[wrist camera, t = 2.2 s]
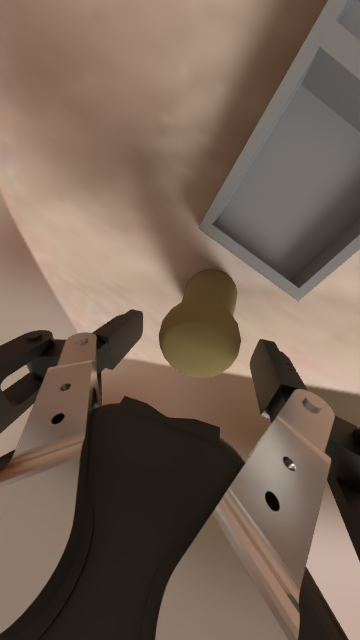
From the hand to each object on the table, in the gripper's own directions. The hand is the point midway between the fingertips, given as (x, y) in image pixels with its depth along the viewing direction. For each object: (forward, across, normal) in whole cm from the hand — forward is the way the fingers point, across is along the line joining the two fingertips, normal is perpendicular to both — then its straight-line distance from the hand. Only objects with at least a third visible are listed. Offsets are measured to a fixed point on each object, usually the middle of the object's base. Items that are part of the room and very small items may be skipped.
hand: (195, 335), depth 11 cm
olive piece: (+9, 0, 0) cm, 9 cm away
